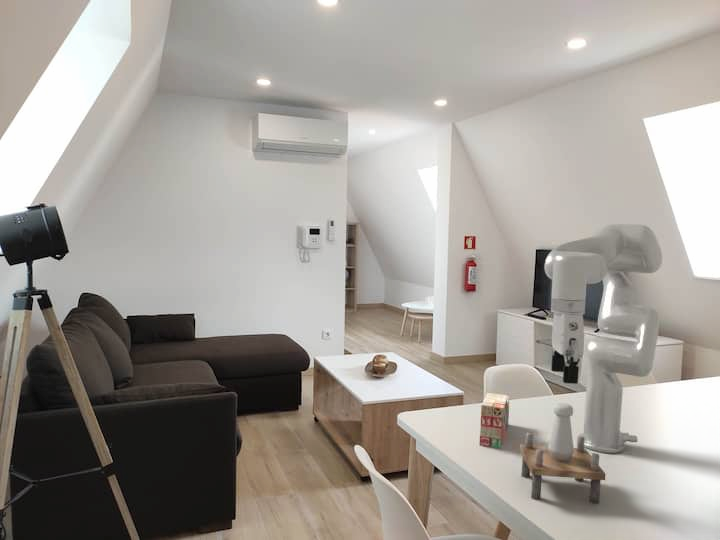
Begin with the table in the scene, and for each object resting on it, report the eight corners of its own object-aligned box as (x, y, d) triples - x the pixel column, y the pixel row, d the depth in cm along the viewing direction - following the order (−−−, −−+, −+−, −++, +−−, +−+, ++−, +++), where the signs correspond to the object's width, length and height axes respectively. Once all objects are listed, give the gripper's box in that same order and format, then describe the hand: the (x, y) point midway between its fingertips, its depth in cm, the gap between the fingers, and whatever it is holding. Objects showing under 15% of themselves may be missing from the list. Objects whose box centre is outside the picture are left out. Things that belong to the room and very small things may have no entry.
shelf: (583, 477, 134) (586, 435, 133) (603, 506, 120) (606, 458, 119) (518, 472, 135) (520, 430, 135) (530, 500, 122) (533, 453, 121)
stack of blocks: (488, 421, 172) (490, 384, 171) (508, 424, 170) (510, 387, 169) (479, 446, 152) (481, 404, 151) (501, 450, 150) (504, 407, 149)
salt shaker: (543, 452, 130) (546, 400, 129) (566, 452, 131) (569, 400, 130) (554, 463, 124) (557, 408, 123) (577, 463, 125) (581, 408, 124)
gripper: (597, 312, 117) (592, 388, 119) (572, 301, 134) (569, 368, 136) (562, 311, 118) (558, 387, 119) (542, 300, 135) (538, 366, 136)
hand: (563, 376), depth 127 cm, fingers open, 9 cm apart
